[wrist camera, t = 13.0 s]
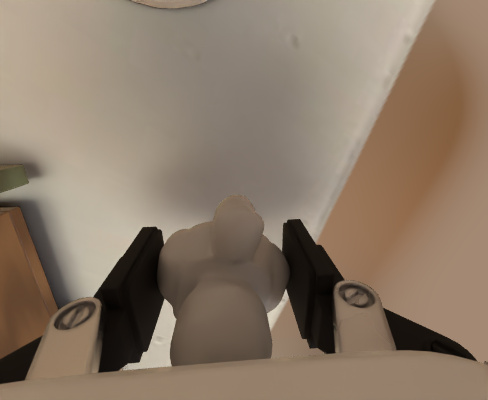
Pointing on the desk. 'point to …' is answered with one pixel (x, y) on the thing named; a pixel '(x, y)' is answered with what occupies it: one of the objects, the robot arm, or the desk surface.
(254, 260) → the rubber duck
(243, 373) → the robot arm
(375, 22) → the desk surface
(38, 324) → the drawer
